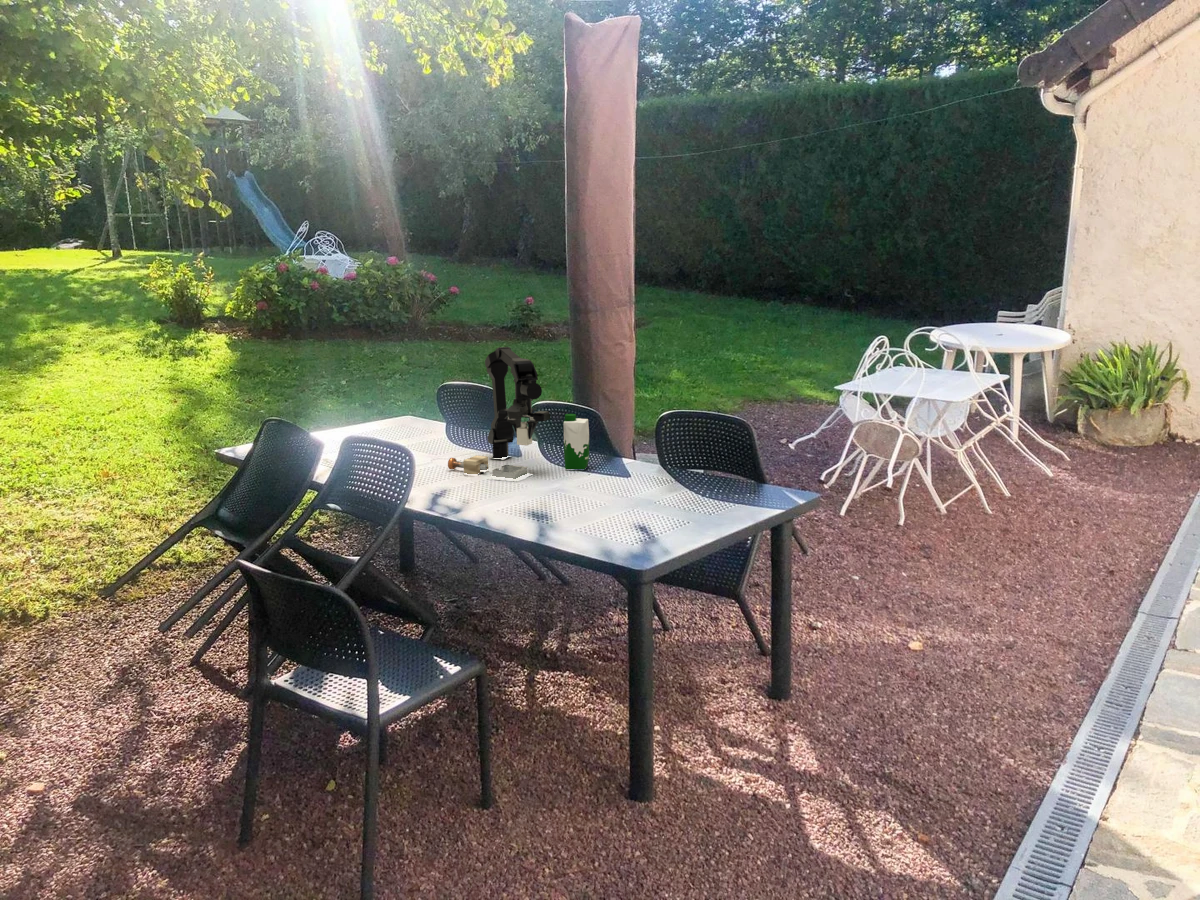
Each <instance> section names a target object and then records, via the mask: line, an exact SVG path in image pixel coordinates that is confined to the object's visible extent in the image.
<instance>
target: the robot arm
mask: <svg viewBox="0 0 1200 900" xmlns="http://www.w3.org/2000/svg"><path fill="white" fill-rule="evenodd" d="M484 365H485V366H484V367H485V368H486V372H487V374H488V376H489V378H491V385H492V398H493V399H492V400H493V410H494V412H493V413H494V418H493V419H492V421H491V424H490V430H489V433H488V434H487V437H486V438H487V443H489V444H491V445H492V456H493V458H502V457H507V456H508V455H509V443H513V442H514V436H515V434H516V435H517V428H519V427H521V422H522V418H528V419H529V420H528V421H526V422H527V426H528V437H529V439H531V437H532V438H533V434H534V432H535V429H536V427H537V426H538V423H539V422H545V421H549V420H551V413H550V412H549V411H548V410H547V411H545V410H538V411H535V412H534V408H532V405H533V403H532V402H533V401H534V400H537V399H540V397H541V396H542V392H543V390H542V387H541V385H540V384H539V383H537V381H538V376H539V375H538V372H537V369H536V367H535V365H534V363H533V362H532V360H531V359H528V358H522V357H520V356H519V355H518V354H516V352H514V351H513V350H512V348H511V347H509V346H499V347H496V348H495V350H494V351H492V352H490V353H489V354H488V355H487V357H486V358H485V361H484ZM509 368H510V373H511V374H512V377H513V382H514V393H515V394H514V396H515V398H513V400H512V401H513V402H512V403H513V404H512V405H510V406H509V408H508V407H507V396H506V382H505V381H506V380H505V378H506V376H507V374H508V372H509Z"/></svg>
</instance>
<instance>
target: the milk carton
mask: <svg viewBox="0 0 1200 900" xmlns="http://www.w3.org/2000/svg"><path fill="white" fill-rule="evenodd" d="M589 458H590V428H589V419H588V418H578V417H577V414H575V413H566V414H564V420H563V461H564V470H565V469H585V468H586V467H587V468H588V466H587V465H589ZM587 468H586V469H587ZM586 469H585V470H586Z"/></svg>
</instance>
